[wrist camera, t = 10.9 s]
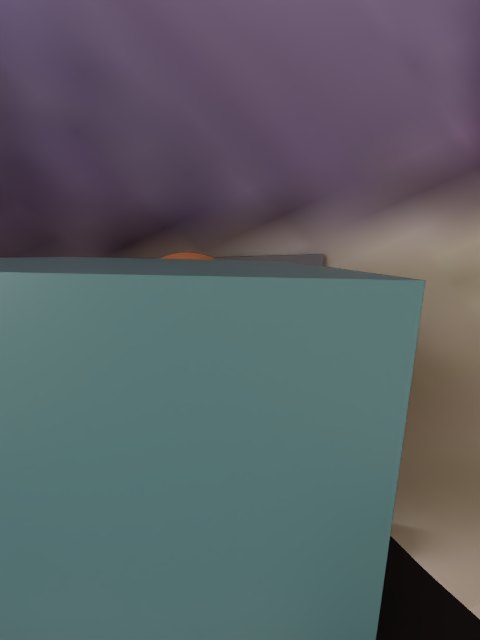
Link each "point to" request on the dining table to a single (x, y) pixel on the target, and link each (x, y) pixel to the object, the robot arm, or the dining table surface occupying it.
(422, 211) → the dining table surface
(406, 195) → the dining table surface
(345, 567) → the teal rectangular box
